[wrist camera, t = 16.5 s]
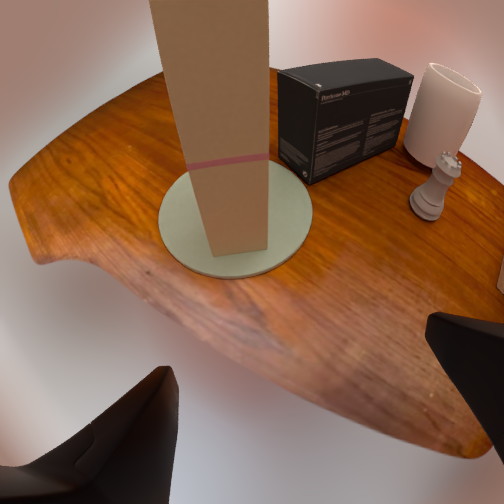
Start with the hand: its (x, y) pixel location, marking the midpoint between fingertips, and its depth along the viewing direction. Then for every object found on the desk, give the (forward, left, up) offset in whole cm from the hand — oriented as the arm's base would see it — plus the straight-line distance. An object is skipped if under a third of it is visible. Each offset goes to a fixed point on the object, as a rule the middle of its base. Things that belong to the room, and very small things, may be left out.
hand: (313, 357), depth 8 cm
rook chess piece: (+24, -9, -14) cm, 29 cm away
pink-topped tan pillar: (+11, +9, -13) cm, 19 cm away
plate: (+14, +11, -14) cm, 22 cm away
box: (+29, +3, -14) cm, 32 cm away
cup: (+35, -9, -14) cm, 38 cm away
